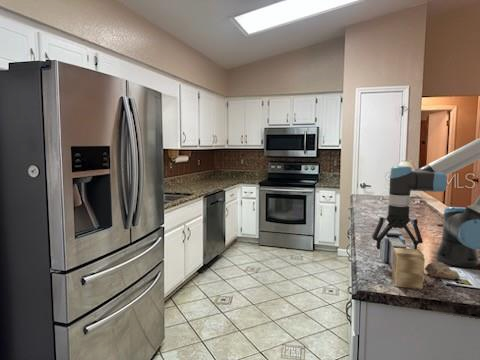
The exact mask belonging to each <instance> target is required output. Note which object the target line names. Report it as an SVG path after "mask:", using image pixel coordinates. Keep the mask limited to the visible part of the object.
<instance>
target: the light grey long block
mask: <svg viewBox="0 0 480 360" xmlns="http://www.w3.org/2000/svg"><path fill="white" fill-rule="evenodd" d="M386 236H387V238H388V251H387V263H389V265H390V267H391V268H392V263H393V248H404V249H407V246H406V244H405V245H404V244H403V243H402V242H401V240H400V239H399V238H398V237H397V236H396V235H386Z"/></svg>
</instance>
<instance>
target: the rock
mask: <svg viewBox="0 0 480 360" xmlns="http://www.w3.org/2000/svg"><path fill="white" fill-rule="evenodd" d="M424 271H426V272H427V273H428V275H429V276H431V277H437V278H443V279H450V280H456V279H460V278H461V276H460V275H459V273H458V271H456V270H453V269H451V267H449V266H447V264H446V263H444V262H441V261H433V262H430V263H428V264H427V265H426V266H425V267H424Z"/></svg>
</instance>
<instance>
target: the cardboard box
mask: <svg viewBox="0 0 480 360" xmlns="http://www.w3.org/2000/svg"><path fill="white" fill-rule="evenodd" d="M424 257H425V255H424V253H423V252H421V250H420V249H418V248H417V249H410V248H406V249H404V248H393V263H392V267H391V280H392V282H393V283H394V285H395V287H402V288H409V289H410V288H412V289H422V290H423V288H424V276H425V270H424V269H425V258H424Z"/></svg>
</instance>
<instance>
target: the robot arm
mask: <svg viewBox="0 0 480 360" xmlns="http://www.w3.org/2000/svg"><path fill="white" fill-rule="evenodd" d="M479 160H480V137H479V138H477V139H475V140H472V141H471V142H469V143H466V144H465V145H463V146H461V147H459V148H457V149H455V150H454V151H451V152H449V153H448V154H446V155H444V156H442V157H440V158H437V159H436V160H434V161H432V162H430V163H428V164H427V165H424V166H422V167H420V168H415V169H413V168H412V166H410V165H409V166H407V165H406V166H405V165H394V166H392V167H391V168H390V174H389V175H390V176H389V190H388V192H389V195H388V209H387V211H388V212H387V216H381V215H380V216H379V217H378V223H377V225H376V227H375V229H374V232H373V233H372V235H371V237H372V239H373V241H376V249H377V250H378V258H379V259H382V244H383V242H382V241H381V240H382V239H383V238H384V237H385V235H386V234H387V233H388V232H389V231H392V229H404V230H405V232H406V234H407V235H408V237H409V238H410V240H411V241H412V242H410V245H409V246H410V248H409V249H418V245H419V244H423V243H424V242H423V238H422V234H421V231H420V229H419V225H418V219H417V218H416V217H412V218H410V203H411V191H414V192H416V191H417V192H431V193H432V192H433V193H437V192H440V193H442V192H444V191H445V190H446V189H447V185H448V177H447V176H449V175H450V174H451V175H452V174H453V173H454V172H457V171H459V170H461V169H463V168H465V167H467V166H469V165H471V164H473V163H475V162H478V161H479ZM386 221H387V225H386V227H385V228H384V229H383V231H382V232H381V234H380V231H381V229H382V227H383V225H384V223H386ZM442 222H443V223H442V232H441V233H442V235H441V237H442V238H441V242H440V244H439V246H438V248H437V250H436V253H435V254H436V255H435V259H436V260H437V261H438V262H442V263H444V264H445V265H452V266H455V267H456V266H457V267H462V268H475V267H477V266H479V264H480V262H479V261H480V259H479V255H478V253H477V251H478V250H480V194H479V195H478V197H477V199H476V200H475V201H474V203H473V204H470V205H466V207H460V206H459V207H458V206H446V207H445V208H444V211H443V221H442ZM409 223H410V224H412V228H413V230H414V232H415V233H414V234H415V236H416V238H415V236H414V235H413V233H412V232H411V230H410V228H409V226H408V224H409Z"/></svg>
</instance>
